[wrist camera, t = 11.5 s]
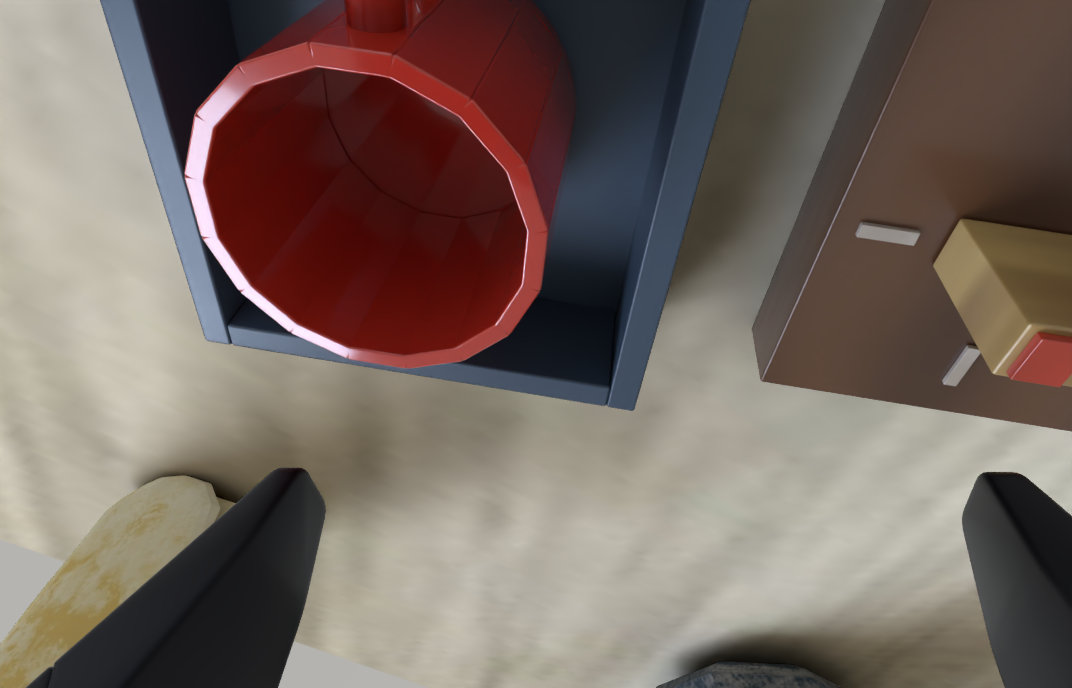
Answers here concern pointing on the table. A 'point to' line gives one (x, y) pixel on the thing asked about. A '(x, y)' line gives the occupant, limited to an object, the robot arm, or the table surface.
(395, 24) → the mug
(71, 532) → the table surface
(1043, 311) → the tap knob
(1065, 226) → the panel
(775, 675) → the lantern
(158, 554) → the food model
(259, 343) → the dark blue tray
